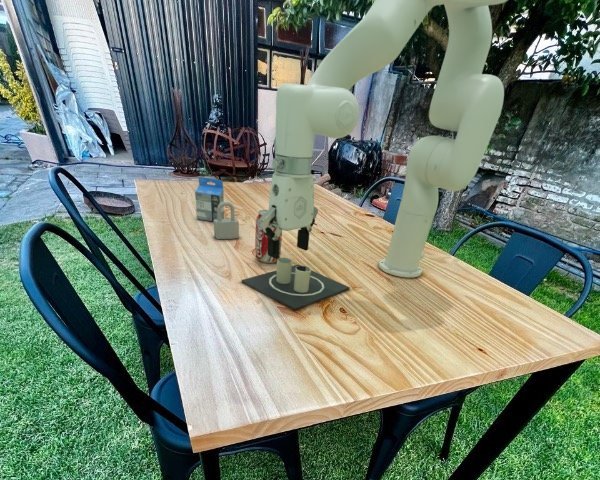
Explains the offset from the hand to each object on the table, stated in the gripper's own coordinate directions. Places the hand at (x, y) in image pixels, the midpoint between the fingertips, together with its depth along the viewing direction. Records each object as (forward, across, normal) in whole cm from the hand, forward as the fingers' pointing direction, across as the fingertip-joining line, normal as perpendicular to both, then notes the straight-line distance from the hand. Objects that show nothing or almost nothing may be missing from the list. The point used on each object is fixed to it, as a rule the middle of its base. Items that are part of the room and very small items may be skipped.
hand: (288, 252), depth 81 cm
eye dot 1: (+7, -1, 0) cm, 7 cm away
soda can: (+8, +7, +14) cm, 18 cm away
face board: (+7, +1, -3) cm, 8 cm away
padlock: (+7, +9, +35) cm, 37 cm away
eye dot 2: (+7, -1, -6) cm, 9 cm away
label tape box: (+7, +16, +53) cm, 56 cm away
